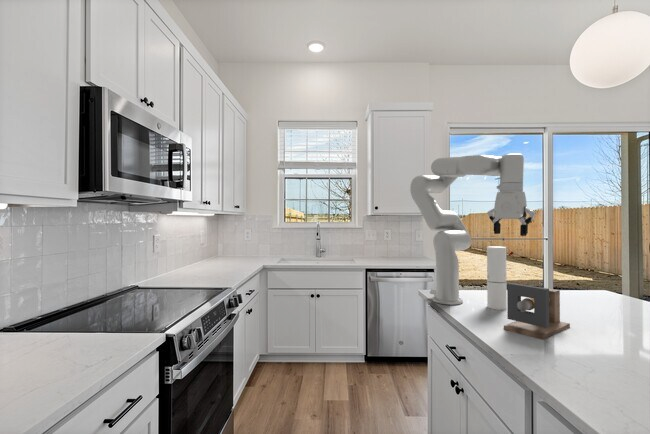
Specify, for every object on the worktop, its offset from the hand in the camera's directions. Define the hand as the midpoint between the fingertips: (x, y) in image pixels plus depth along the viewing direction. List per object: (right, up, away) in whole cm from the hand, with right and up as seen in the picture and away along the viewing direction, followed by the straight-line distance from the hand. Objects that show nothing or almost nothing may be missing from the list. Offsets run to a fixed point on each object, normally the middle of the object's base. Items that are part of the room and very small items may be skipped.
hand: (509, 234), depth 128 cm
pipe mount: (+3, -31, -11) cm, 33 cm away
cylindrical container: (+3, -31, +16) cm, 35 cm away
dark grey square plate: (-2, -28, -15) cm, 32 cm away
